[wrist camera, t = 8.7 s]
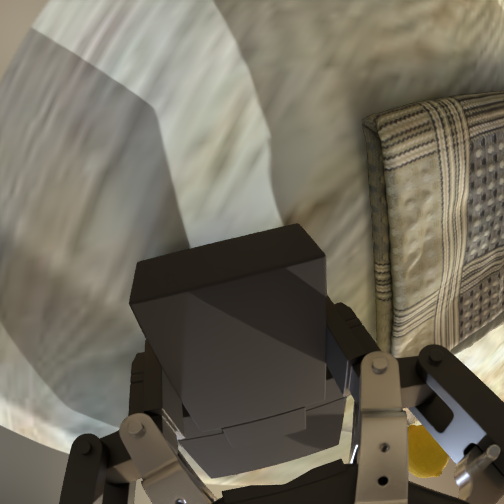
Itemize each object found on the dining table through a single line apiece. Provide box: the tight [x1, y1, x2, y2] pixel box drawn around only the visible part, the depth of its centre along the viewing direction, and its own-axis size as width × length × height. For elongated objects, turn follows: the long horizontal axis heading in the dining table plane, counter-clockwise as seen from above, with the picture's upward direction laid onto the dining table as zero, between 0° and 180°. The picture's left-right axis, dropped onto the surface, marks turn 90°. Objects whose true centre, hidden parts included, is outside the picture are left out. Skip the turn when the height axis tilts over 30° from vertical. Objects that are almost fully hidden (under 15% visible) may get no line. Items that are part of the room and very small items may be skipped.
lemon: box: [408, 425, 449, 478], centre depth 25 cm, size 6×6×8 cm
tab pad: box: [129, 223, 327, 448], centre depth 12 cm, size 6×10×2 cm, turn 8°
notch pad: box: [177, 364, 347, 478], centre depth 18 cm, size 10×10×2 cm
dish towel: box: [362, 91, 504, 358], centre depth 15 cm, size 19×18×3 cm
